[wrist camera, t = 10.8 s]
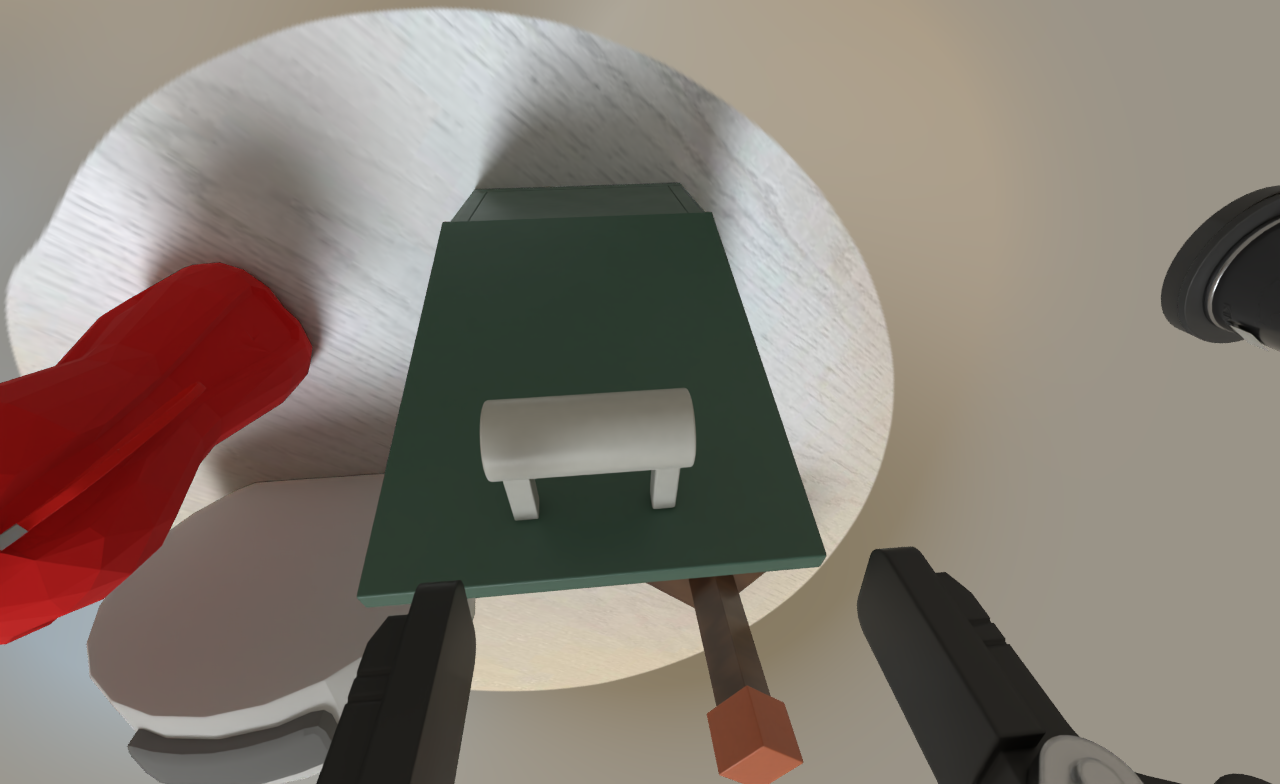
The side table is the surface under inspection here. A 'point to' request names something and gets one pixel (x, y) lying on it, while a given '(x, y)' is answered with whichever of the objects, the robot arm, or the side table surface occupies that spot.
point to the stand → (722, 630)
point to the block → (753, 738)
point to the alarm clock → (243, 633)
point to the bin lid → (584, 418)
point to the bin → (576, 202)
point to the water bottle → (130, 433)
